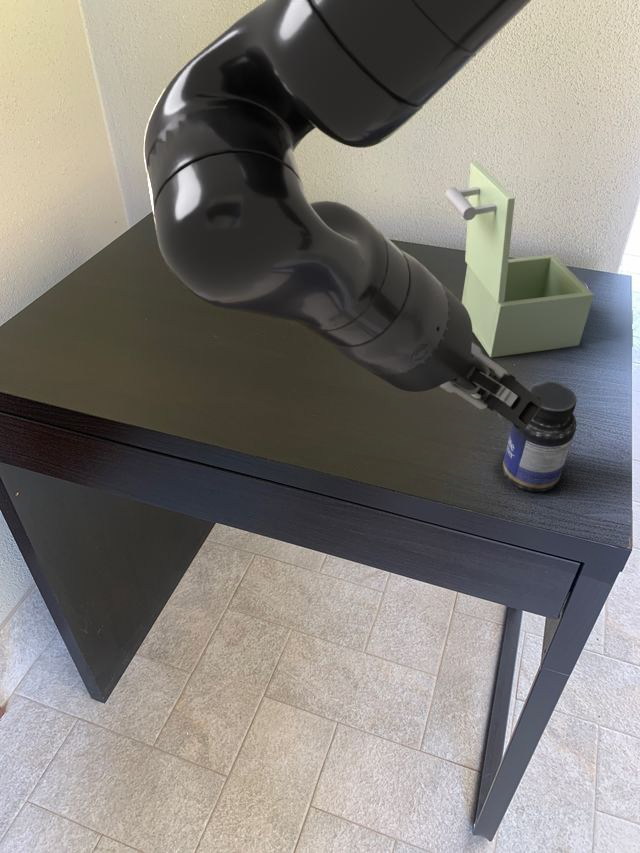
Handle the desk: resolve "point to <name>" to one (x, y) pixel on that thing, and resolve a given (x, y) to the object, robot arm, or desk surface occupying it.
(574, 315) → the pale green open box
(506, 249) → the green box lid
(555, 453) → the pill bottle
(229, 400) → the desk surface
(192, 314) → the desk surface
